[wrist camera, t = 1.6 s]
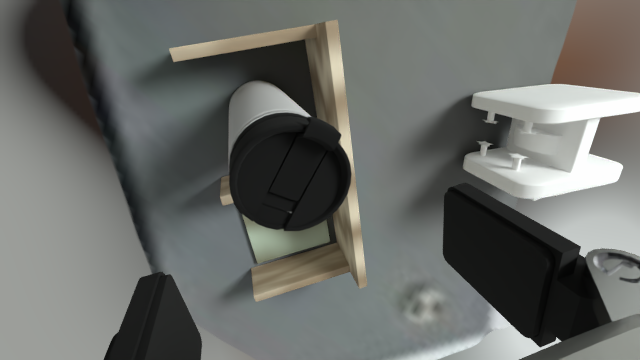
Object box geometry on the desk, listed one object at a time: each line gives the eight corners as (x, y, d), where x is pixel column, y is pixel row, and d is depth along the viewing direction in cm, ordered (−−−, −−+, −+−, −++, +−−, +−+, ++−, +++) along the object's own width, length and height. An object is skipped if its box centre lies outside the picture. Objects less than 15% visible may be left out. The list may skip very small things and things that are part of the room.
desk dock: (178, 48, 28) (161, 49, 21) (312, 25, 30) (337, 19, 23) (253, 273, 40) (258, 322, 33) (344, 246, 43) (367, 285, 36)
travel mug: (299, 93, 33) (381, 150, 15) (273, 147, 34) (320, 256, 17) (244, 65, 30) (265, 93, 13) (219, 124, 32) (207, 224, 14)
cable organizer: (557, 80, 41) (665, 92, 31) (538, 153, 46) (627, 185, 35) (462, 91, 38) (549, 108, 28) (452, 168, 42) (522, 208, 32)
